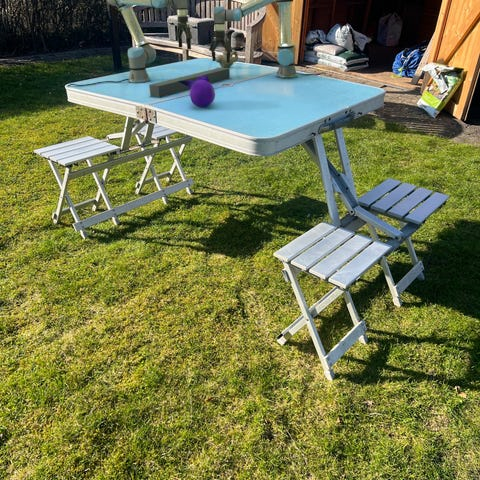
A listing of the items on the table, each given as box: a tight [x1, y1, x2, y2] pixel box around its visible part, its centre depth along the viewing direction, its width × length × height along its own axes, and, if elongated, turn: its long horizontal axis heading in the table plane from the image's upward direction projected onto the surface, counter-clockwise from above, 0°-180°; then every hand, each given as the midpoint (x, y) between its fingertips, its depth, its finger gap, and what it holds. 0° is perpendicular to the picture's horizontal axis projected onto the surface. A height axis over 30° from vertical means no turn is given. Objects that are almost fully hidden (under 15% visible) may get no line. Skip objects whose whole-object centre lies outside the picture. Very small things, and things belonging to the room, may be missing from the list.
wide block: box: [148, 67, 231, 99], centre depth 317 cm, size 74×9×7 cm, turn 143°
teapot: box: [215, 48, 239, 69], centre depth 378 cm, size 21×12×15 cm, turn 120°
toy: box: [179, 76, 216, 109], centre depth 267 cm, size 16×18×27 cm
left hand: (184, 48), depth 329 cm, fingers open, 13 cm apart
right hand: (221, 61), depth 335 cm, fingers open, 13 cm apart
